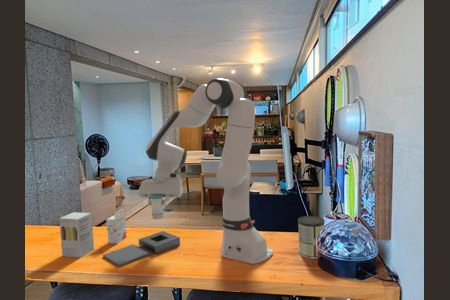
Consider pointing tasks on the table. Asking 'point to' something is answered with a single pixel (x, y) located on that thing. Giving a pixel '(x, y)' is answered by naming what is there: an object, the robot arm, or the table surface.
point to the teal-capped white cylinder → (157, 206)
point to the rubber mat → (126, 255)
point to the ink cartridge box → (116, 227)
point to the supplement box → (76, 234)
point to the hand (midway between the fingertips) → (156, 204)
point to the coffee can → (309, 235)
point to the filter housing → (159, 242)
